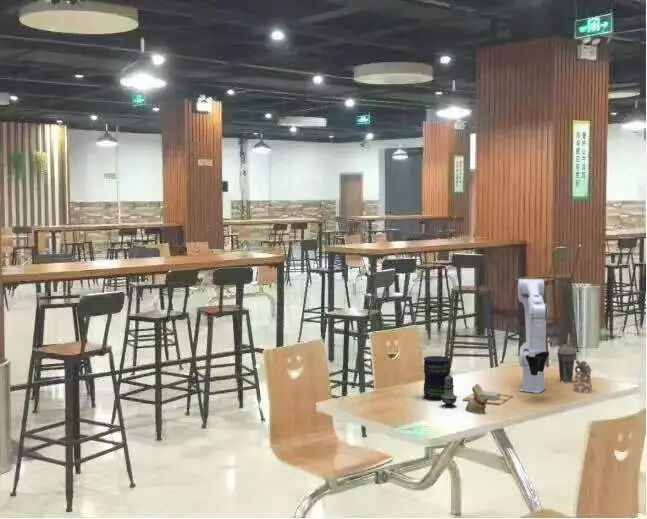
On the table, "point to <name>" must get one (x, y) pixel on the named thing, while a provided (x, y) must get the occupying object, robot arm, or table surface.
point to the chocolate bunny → (477, 401)
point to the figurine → (582, 378)
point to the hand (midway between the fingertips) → (537, 373)
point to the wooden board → (493, 402)
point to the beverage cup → (566, 361)
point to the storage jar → (435, 376)
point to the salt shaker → (449, 393)
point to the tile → (492, 395)
